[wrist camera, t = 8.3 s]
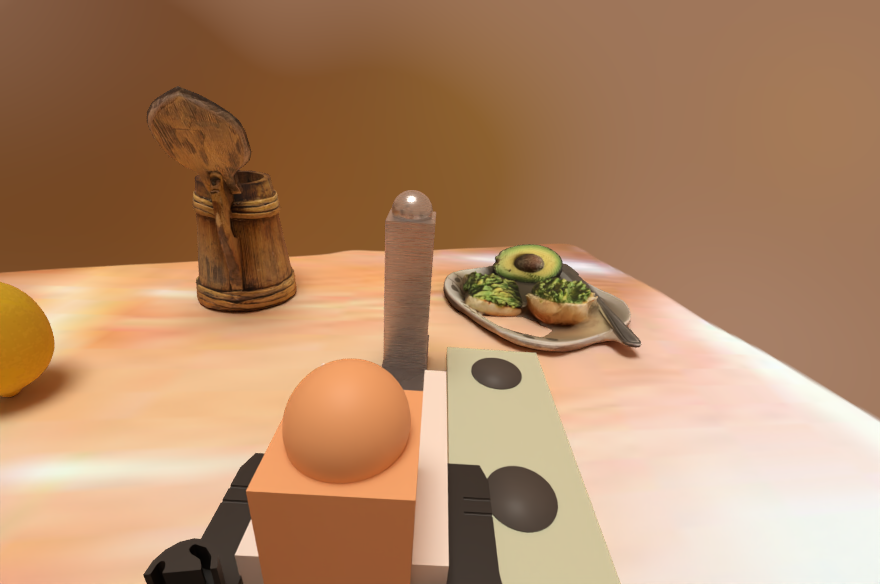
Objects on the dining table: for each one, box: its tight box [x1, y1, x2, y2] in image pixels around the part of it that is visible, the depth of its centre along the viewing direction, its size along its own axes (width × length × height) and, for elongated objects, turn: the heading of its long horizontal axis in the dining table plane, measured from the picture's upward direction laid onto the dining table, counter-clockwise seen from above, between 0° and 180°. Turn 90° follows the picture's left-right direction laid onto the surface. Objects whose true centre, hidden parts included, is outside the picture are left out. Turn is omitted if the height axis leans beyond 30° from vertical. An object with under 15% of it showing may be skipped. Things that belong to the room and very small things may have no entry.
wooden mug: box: [147, 87, 296, 312], centre depth 34 cm, size 9×14×18 cm, turn 11°
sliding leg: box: [246, 359, 423, 584], centre depth 10 cm, size 3×3×12 cm
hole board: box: [446, 347, 621, 584], centre depth 21 cm, size 7×25×1 cm, turn 0°
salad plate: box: [444, 244, 641, 352], centre depth 40 cm, size 19×18×5 cm
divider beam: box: [382, 190, 436, 391], centre depth 17 cm, size 3×27×14 cm, turn 0°
